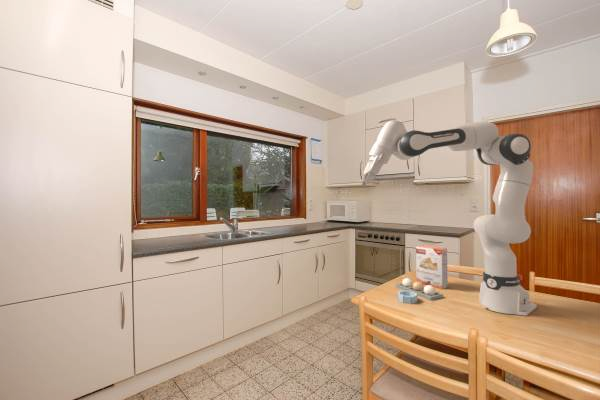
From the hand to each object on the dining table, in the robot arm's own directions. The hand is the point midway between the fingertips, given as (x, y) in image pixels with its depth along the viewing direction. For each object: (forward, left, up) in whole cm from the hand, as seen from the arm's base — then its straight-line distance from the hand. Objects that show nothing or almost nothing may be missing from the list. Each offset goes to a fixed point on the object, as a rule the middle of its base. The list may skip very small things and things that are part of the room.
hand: (364, 184), depth 118 cm
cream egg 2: (-32, +6, -52) cm, 61 cm away
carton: (-32, 0, -53) cm, 62 cm away
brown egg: (-32, 0, -52) cm, 61 cm away
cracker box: (-46, -5, -53) cm, 71 cm away
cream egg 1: (-31, -7, -52) cm, 61 cm away
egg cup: (-18, +5, -53) cm, 56 cm away
